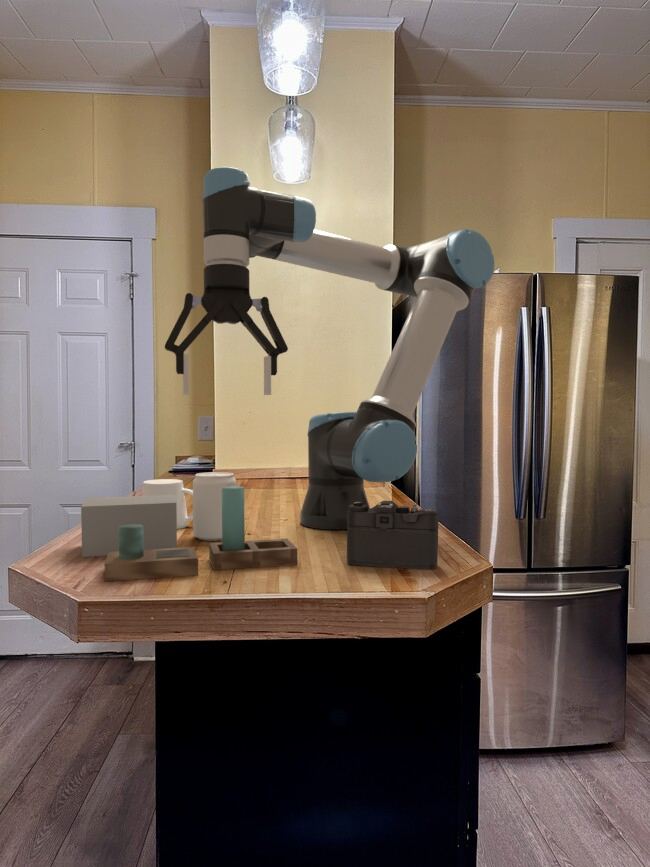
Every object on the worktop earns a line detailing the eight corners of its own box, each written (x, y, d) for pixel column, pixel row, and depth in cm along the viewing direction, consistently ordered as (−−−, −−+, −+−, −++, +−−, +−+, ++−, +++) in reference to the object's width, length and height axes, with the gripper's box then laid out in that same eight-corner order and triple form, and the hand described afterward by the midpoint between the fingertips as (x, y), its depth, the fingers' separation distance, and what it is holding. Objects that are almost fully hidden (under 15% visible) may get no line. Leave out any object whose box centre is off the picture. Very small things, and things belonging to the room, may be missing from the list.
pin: (242, 559, 101) (242, 485, 101) (246, 564, 98) (245, 488, 97) (221, 560, 100) (220, 486, 100) (223, 566, 97) (223, 489, 96)
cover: (174, 539, 116) (174, 494, 116) (176, 551, 107) (176, 502, 106) (87, 544, 112) (87, 497, 112) (82, 557, 103) (81, 506, 102)
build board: (287, 553, 105) (287, 538, 105) (297, 564, 98) (297, 548, 98) (209, 558, 102) (209, 543, 102) (213, 570, 95) (213, 553, 95)
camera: (437, 554, 105) (438, 496, 105) (438, 571, 94) (438, 506, 94) (353, 551, 108) (353, 493, 107) (344, 567, 97) (344, 503, 96)
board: (194, 562, 99) (194, 518, 99) (198, 574, 92) (197, 527, 92) (108, 568, 96) (107, 522, 96) (105, 581, 89) (104, 532, 88)
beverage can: (227, 542, 113) (227, 477, 113) (186, 540, 115) (185, 476, 115) (242, 533, 121) (242, 472, 121) (203, 532, 123) (202, 471, 122)
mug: (133, 483, 125) (146, 478, 132) (133, 530, 125) (147, 522, 133) (192, 484, 124) (202, 479, 132) (193, 530, 124) (203, 523, 132)
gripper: (294, 275, 111) (295, 395, 112) (148, 267, 104) (150, 394, 105) (304, 266, 103) (305, 394, 104) (148, 257, 97) (150, 394, 98)
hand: (227, 395), depth 105 cm, fingers open, 13 cm apart
